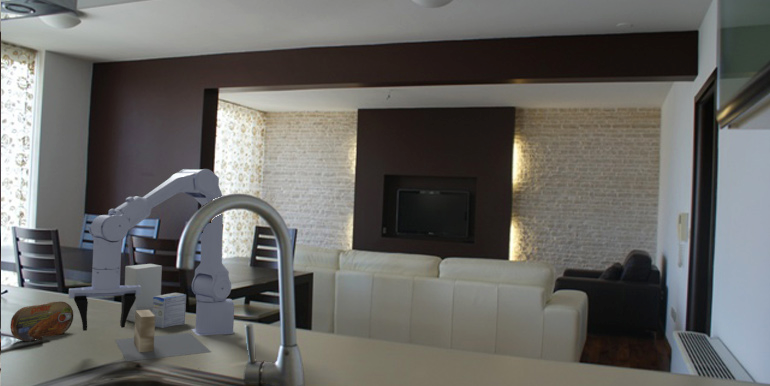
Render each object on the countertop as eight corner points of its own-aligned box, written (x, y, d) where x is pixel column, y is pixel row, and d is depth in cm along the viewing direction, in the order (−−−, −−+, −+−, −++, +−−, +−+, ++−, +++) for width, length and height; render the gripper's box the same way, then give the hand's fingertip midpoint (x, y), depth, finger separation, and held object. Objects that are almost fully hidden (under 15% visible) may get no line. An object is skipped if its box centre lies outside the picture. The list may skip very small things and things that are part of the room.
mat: (190, 334, 147) (190, 332, 147) (211, 354, 130) (211, 351, 130) (114, 342, 137) (114, 339, 137) (126, 364, 120) (126, 361, 120)
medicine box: (173, 322, 160) (175, 292, 160) (185, 324, 158) (186, 294, 158) (151, 328, 153) (152, 296, 153) (163, 330, 151) (164, 298, 151)
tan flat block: (147, 342, 135) (148, 309, 136) (153, 350, 129) (155, 316, 129) (133, 343, 134) (135, 310, 134) (139, 352, 127) (141, 317, 127)
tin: (15, 344, 132) (17, 309, 132) (7, 343, 133) (8, 307, 133) (73, 331, 145) (75, 299, 146) (65, 330, 147) (66, 298, 147)
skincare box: (148, 315, 168) (151, 263, 168) (161, 318, 164) (163, 265, 164) (121, 319, 161) (124, 265, 161) (134, 323, 157) (137, 267, 158)
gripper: (138, 264, 134) (135, 321, 134) (68, 266, 126) (66, 327, 126) (143, 268, 128) (140, 328, 128) (70, 271, 120) (68, 334, 120)
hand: (103, 328), depth 127 cm, fingers open, 7 cm apart
